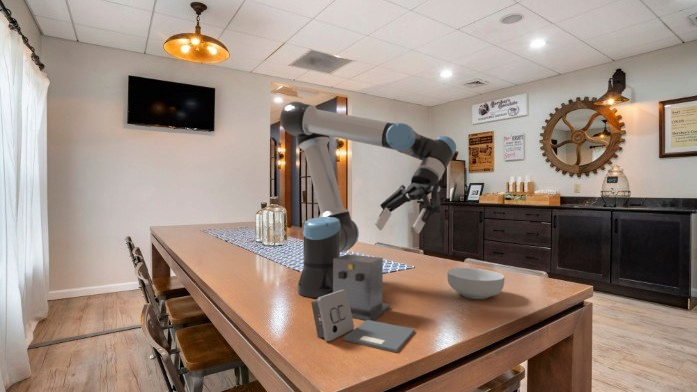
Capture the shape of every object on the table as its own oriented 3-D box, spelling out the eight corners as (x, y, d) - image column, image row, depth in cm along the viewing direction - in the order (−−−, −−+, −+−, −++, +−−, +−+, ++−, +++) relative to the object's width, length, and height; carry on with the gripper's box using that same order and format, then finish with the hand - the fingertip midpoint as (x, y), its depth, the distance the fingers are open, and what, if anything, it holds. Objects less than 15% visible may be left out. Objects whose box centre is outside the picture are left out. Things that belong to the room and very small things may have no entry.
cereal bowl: (477, 307, 97) (477, 282, 97) (435, 292, 112) (436, 270, 112) (516, 299, 105) (516, 275, 105) (473, 286, 120) (473, 265, 120)
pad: (343, 340, 75) (343, 337, 75) (367, 322, 85) (367, 319, 85) (396, 352, 69) (396, 349, 69) (414, 331, 80) (414, 328, 80)
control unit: (324, 312, 92) (324, 259, 92) (345, 299, 103) (346, 252, 103) (372, 321, 86) (372, 264, 86) (390, 307, 96) (390, 257, 96)
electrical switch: (327, 343, 73) (325, 298, 74) (310, 339, 76) (308, 296, 77) (355, 330, 81) (352, 289, 81) (338, 327, 84) (335, 288, 84)
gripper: (469, 183, 99) (440, 241, 89) (401, 186, 117) (370, 234, 107) (459, 163, 95) (427, 221, 85) (390, 169, 114) (358, 217, 104)
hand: (395, 228), depth 96 cm, fingers open, 13 cm apart
